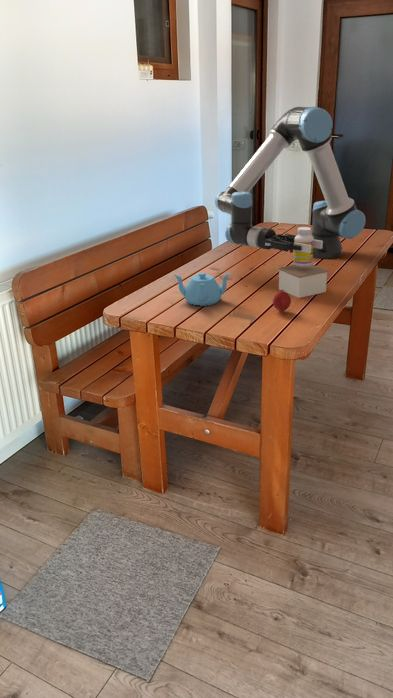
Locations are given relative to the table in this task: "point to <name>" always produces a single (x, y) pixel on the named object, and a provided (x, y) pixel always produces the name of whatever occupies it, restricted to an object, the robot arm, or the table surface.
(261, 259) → the table surface
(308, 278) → the riser block
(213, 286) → the teapot
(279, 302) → the onion
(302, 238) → the supplement bottle
